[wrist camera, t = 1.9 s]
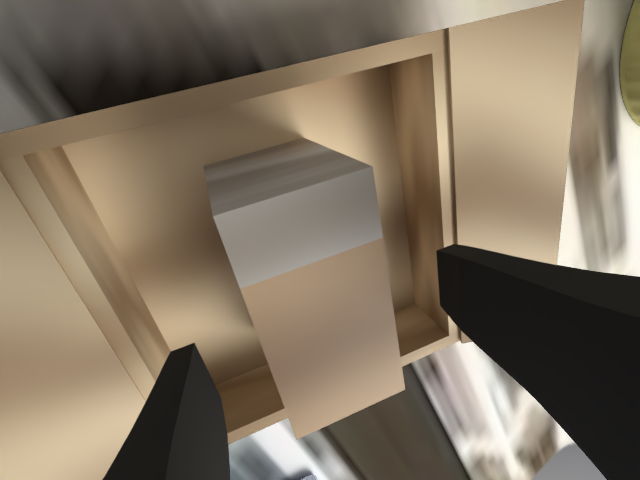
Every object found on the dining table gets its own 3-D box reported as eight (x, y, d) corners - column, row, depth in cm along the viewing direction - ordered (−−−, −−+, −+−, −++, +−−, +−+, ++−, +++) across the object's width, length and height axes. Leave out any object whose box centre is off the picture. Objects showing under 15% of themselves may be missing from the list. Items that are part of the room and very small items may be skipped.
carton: (475, 278, 21) (552, 329, 17) (103, 432, 17) (73, 554, 12) (472, 22, 15) (588, -6, 11) (-102, 157, 11) (-299, 203, 6)
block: (340, 300, 18) (404, 389, 12) (263, 330, 17) (296, 439, 12) (304, 137, 14) (372, 166, 9) (203, 166, 13) (212, 216, 8)
